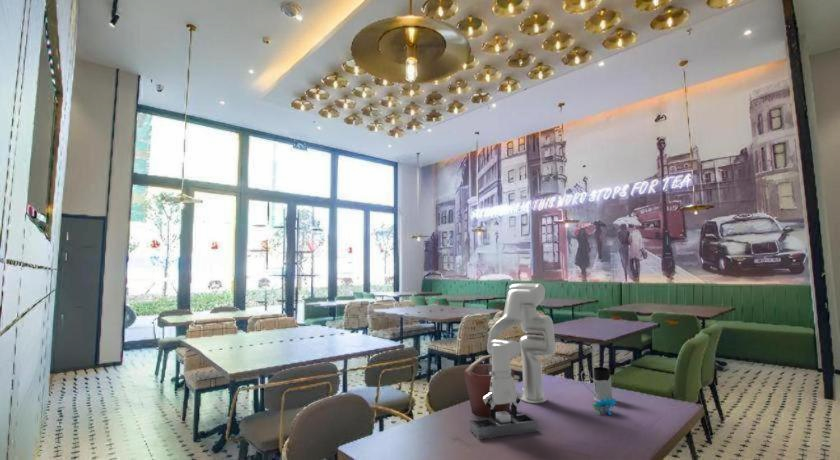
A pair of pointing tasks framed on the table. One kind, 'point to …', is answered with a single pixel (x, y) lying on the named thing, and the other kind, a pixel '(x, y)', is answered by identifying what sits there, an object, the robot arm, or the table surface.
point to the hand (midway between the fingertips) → (503, 417)
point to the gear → (604, 405)
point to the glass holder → (601, 383)
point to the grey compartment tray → (503, 426)
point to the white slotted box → (503, 417)
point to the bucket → (481, 387)
